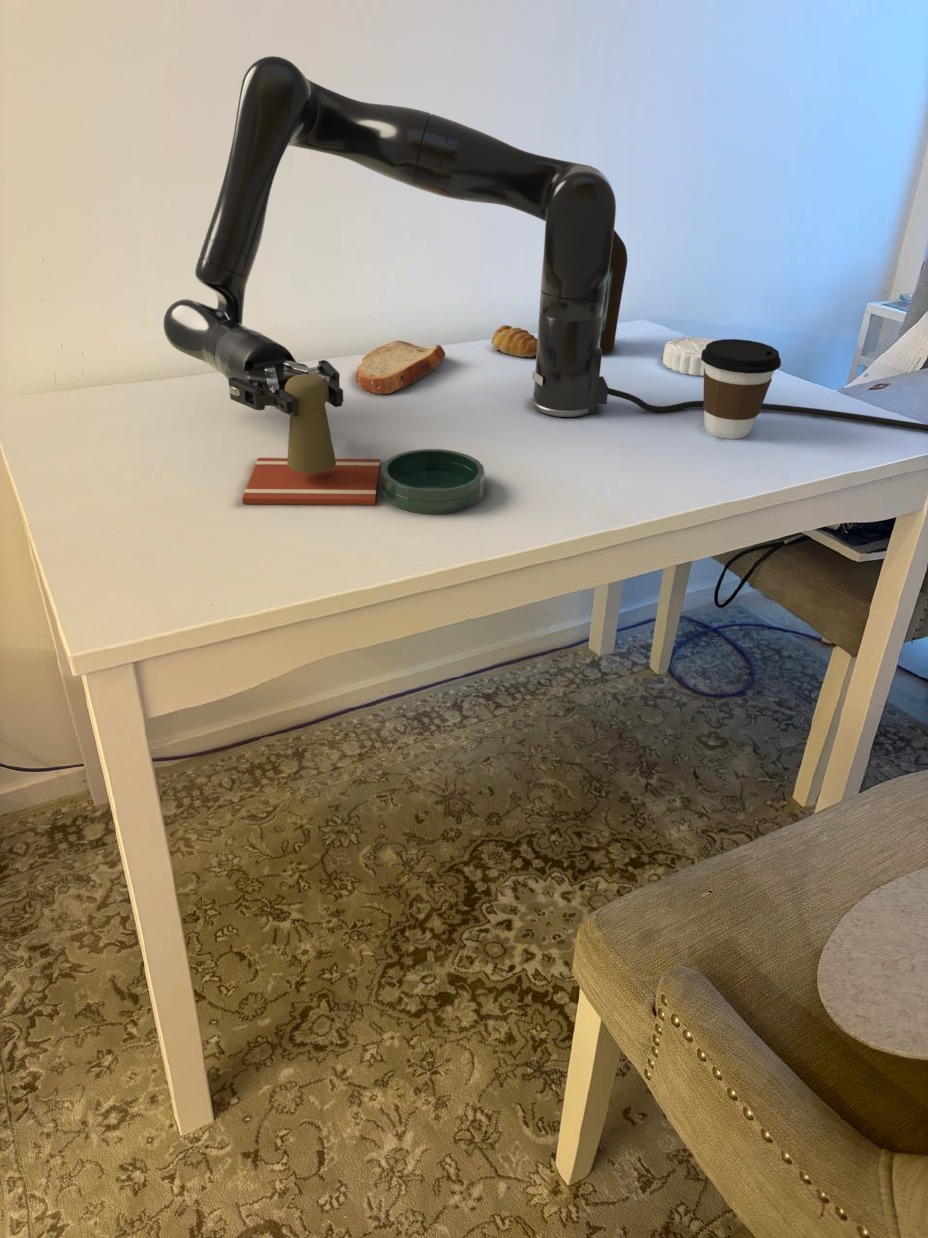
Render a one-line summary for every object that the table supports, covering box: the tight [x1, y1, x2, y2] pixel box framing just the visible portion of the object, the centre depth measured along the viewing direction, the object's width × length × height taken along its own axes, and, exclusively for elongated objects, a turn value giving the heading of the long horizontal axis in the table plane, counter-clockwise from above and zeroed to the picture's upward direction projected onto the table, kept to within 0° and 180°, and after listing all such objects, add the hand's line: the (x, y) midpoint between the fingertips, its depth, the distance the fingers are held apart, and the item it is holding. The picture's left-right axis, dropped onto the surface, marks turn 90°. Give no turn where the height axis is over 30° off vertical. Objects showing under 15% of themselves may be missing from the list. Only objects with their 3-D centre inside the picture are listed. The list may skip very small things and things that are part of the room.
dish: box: [381, 448, 485, 515], centre depth 113 cm, size 13×13×3 cm
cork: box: [285, 374, 336, 473], centre depth 111 cm, size 6×6×11 cm
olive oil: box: [600, 229, 628, 356], centre depth 158 cm, size 11×11×25 cm
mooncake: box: [662, 336, 718, 377], centre depth 157 cm, size 12×12×4 cm
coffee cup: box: [701, 338, 782, 440], centre depth 130 cm, size 11×11×12 cm
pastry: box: [491, 324, 538, 358], centre depth 161 cm, size 9×7×4 cm
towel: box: [241, 457, 381, 506], centre depth 115 cm, size 16×12×1 cm
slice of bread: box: [355, 340, 446, 395], centre depth 150 cm, size 18×18×4 cm
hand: (317, 403), depth 107 cm, fingers closed on cork, 5 cm apart
